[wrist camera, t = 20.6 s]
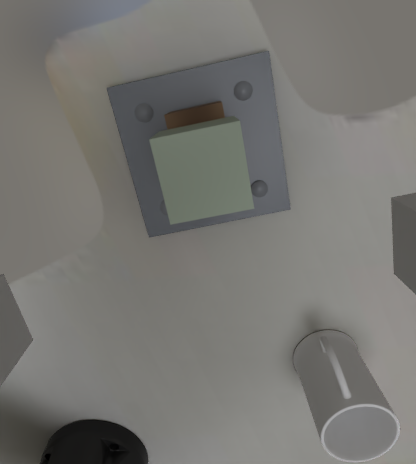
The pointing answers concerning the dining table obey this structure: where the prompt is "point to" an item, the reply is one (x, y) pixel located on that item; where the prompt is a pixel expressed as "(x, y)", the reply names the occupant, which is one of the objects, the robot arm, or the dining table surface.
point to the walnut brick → (194, 115)
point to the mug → (344, 398)
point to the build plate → (234, 104)
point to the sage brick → (202, 170)
